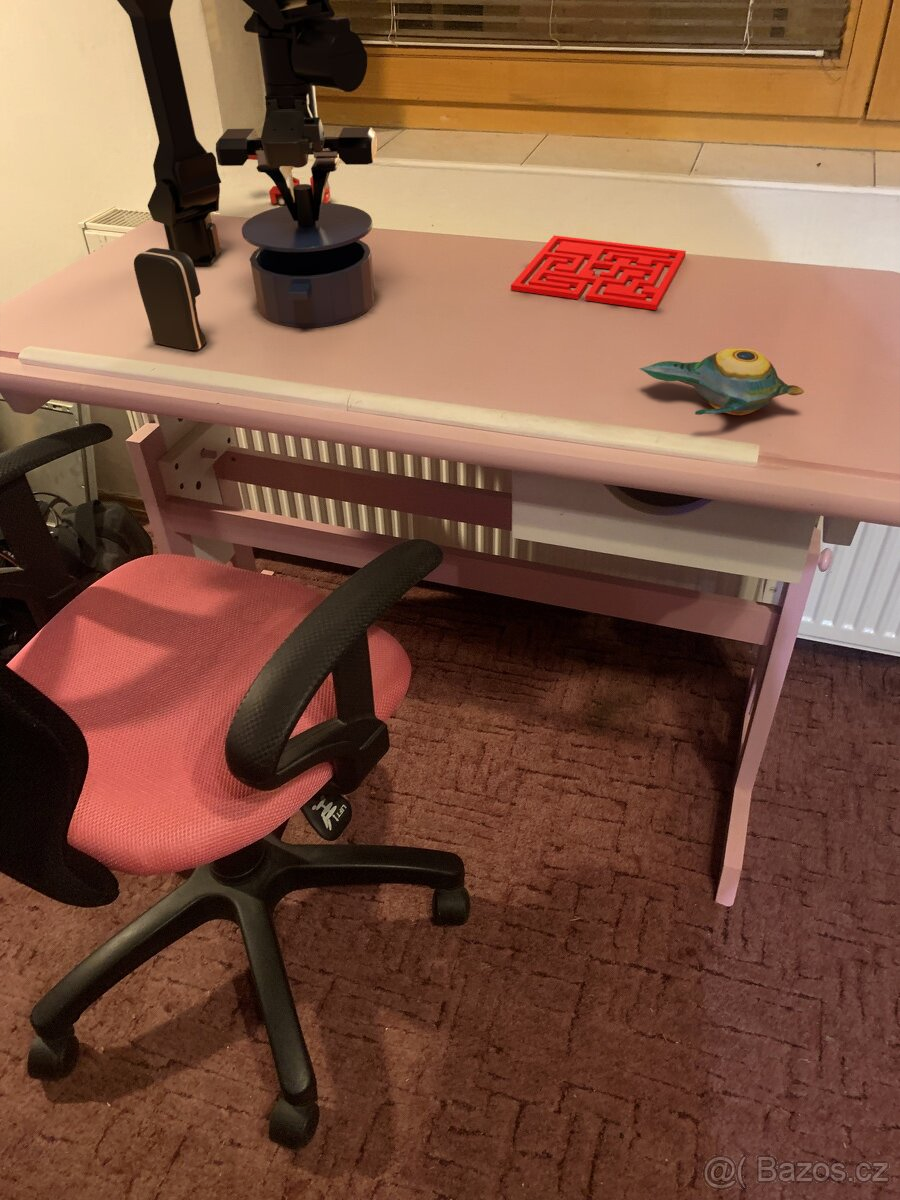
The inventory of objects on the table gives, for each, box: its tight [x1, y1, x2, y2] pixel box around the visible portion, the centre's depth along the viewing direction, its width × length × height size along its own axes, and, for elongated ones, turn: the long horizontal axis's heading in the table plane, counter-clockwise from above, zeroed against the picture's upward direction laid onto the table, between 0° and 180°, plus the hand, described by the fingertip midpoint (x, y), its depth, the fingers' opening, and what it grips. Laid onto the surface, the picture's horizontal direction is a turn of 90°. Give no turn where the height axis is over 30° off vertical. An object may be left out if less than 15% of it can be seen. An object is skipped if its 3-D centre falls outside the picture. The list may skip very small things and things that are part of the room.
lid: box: [241, 183, 374, 252], centre depth 111 cm, size 17×17×6 cm
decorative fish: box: [638, 347, 805, 416], centre depth 95 cm, size 13×12×6 cm
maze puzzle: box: [510, 234, 687, 311], centre depth 124 cm, size 20×20×1 cm
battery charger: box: [133, 247, 207, 351], centre depth 107 cm, size 7×4×11 cm, turn 66°
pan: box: [249, 239, 376, 329], centre depth 117 cm, size 16×21×6 cm
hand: (306, 219), depth 112 cm, fingers closed on lid, 2 cm apart
